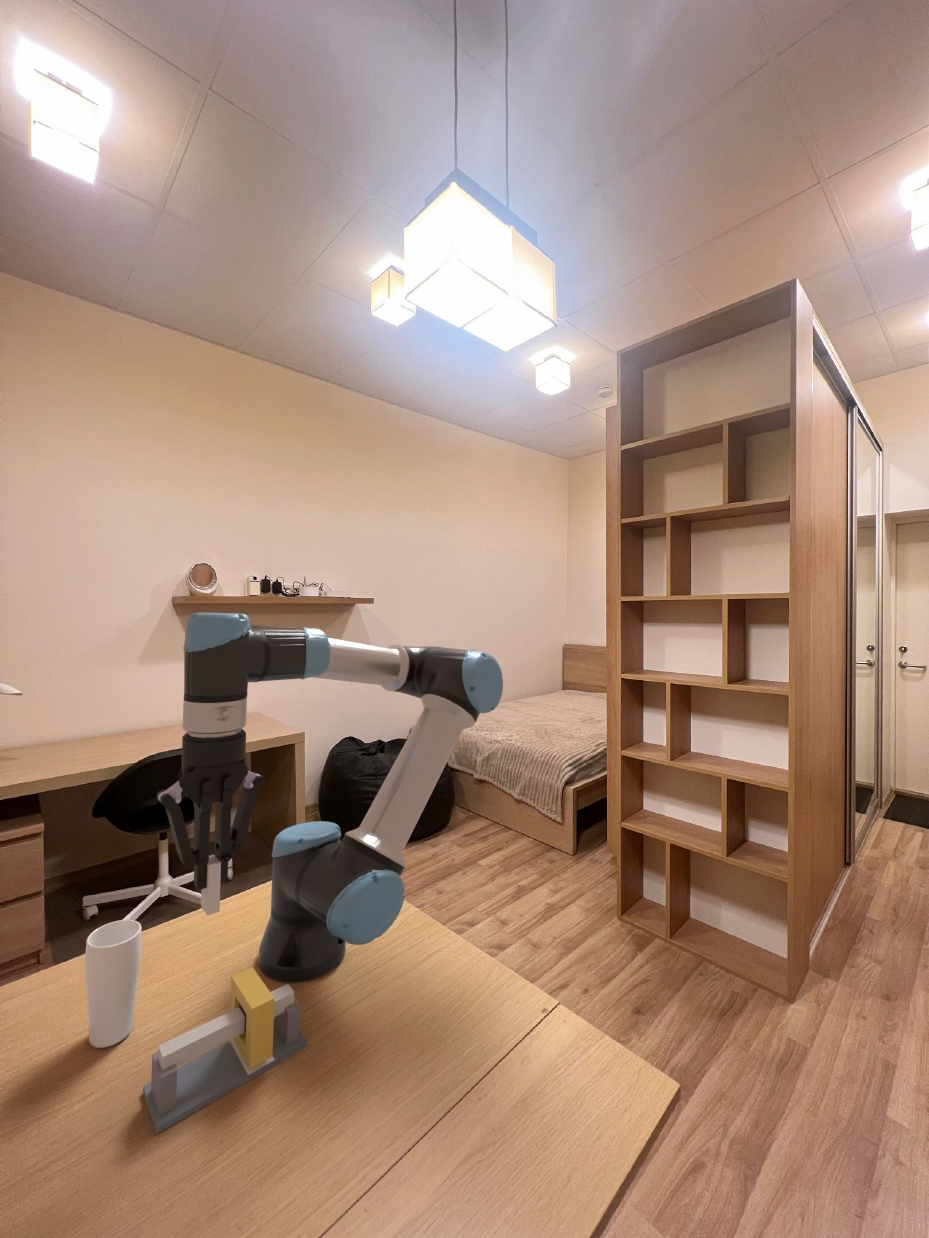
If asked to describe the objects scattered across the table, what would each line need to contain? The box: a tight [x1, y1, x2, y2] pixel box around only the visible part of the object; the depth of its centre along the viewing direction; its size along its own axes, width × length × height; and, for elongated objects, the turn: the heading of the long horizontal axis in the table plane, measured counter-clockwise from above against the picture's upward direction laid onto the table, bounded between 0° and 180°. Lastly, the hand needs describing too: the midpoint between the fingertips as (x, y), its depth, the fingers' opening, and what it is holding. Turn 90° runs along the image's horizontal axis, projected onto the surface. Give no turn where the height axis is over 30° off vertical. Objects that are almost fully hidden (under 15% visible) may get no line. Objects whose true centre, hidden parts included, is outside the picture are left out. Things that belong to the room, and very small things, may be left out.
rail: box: [142, 983, 308, 1135], centre depth 70 cm, size 7×19×7 cm, turn 133°
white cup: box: [84, 919, 143, 1049], centre depth 75 cm, size 7×7×15 cm
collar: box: [229, 966, 275, 1068], centre depth 72 cm, size 8×3×8 cm, turn 43°
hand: (210, 908), depth 68 cm, fingers closed
